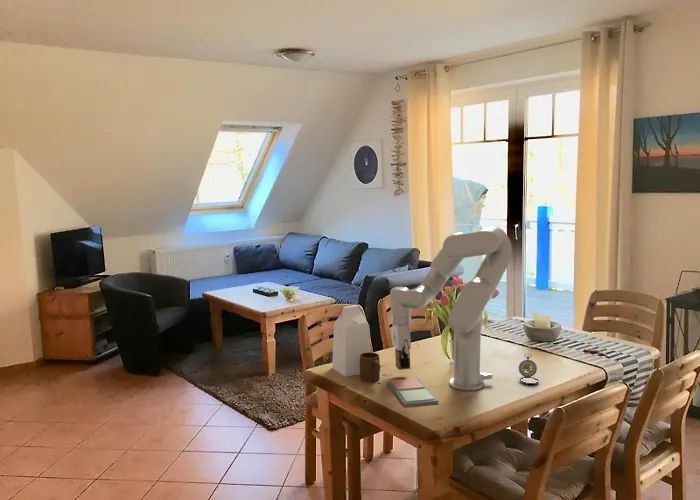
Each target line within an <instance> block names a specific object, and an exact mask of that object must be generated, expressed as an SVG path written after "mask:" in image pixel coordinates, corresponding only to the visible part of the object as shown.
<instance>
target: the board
mask: <svg viewBox="0 0 700 500" xmlns="http://www.w3.org/2000/svg"><path fill="white" fill-rule="evenodd" d="M387 385H388V387H390V389H391V390H392V391H393V393H394V394H395V397H396V398H398V400H399V402H401V404H402V405H403V406H404V407H414V406H424V405H425V406H427V405H435V404H439V400H438V399H437V398H436V396H435V395H434V394H433V393H432V392H431V391H430V390H429V388H428V387H426V385H425V384H424V382H422V380H421V379H420V378H419V377H417V378H405V379H403V378H402V379H393V380H387Z"/></svg>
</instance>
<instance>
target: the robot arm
mask: <svg viewBox="0 0 700 500" xmlns="http://www.w3.org/2000/svg"><path fill="white" fill-rule="evenodd" d="M512 248H513V247H512V244H511V239H510V238H509V236H508V235H507V233H506V231H504V230H503V229H502V228H500V227H498V226H488V227H486V228H484V229H482V230H475V231H471V232H466V233H465V232H462V231H461V232H460V231H459V232H458V231H457V232H454V233H451V234H450V235H448V236H447V237H445V239H444V241H443V243H442V247H441V249H440V250H439V252H438V253H437V254H436V255H435V257H434V258H433V260H432V261H431V263H430V269H429V272H428V273H427V274H426V276H425V278H424V279H423V280H422V281H421V282H420V284H419V285H418V286H417V287H414V288H413V289H409V287H406V286H396V287H393V288H391V289H390V291H389V293H390V319H391V325H392V329H391V330H392V332H391V333H392V334H391V336H392V337H391V339H392V341H391V344H392V346H393V347H394V348H395V349H397V350H398V351H400V350H401V358H400V362H401V368H408V367H409V351H410V350H411V347H412V346H411V345H412V344H411V343H412V341H411V329H410V328H411V327H410V324H412V311H411V309H413V310H421V309H423V308H424V307H426V306H427V305H428V304H430V303H431V302H432V301H433V300H434V299H435V298H436V296H437V295H438V294H439V292H440V291H441V290H442V289H443V287H444V285H445V284H446V283H447V281H449V279H450V277H451V276H452V275H453V273H454V272H455V271H456V269H457V268H458V267H459V265H460V264H461V263H462V262H463V261H464V259H466V258H467V259H468V258H472V257H479V256H485V257H484V258H483V260H482V262H481V263H480V266H479V267H478V269H477V271H476V273H475V274H474V276H473V278H472V279H470V280H469V281H468V282H467V283H465V285H464V286H463V288H462V290H461V291H460V293H459V295H458V297H457V299H456V301H455V302H454V304H453V306H452V307H451V310H450V312H449V315H448V319H447V320H448V325H449V326H450V328H451V330H452V331H453V332H454V333H453V335H454V336H453V377H451V378H450V379H449V381H448V383H449V385H450V387H452V388H454V389H456V390H460V391H470V392H471V391H478V390H481V389H482V388H483V387H484V386H485V383H484V381H485V380H492V379H493V374H492V373H486V372H481V344H482V343H481V340H482V339H481V338H482V337H481V336H482V326H483V325H482V323H483V311H484V310H485V308H486V306H487V305H488V303H489V301H490V300H491V299H492V298H493V296H494V294H495V291H496V289H497V288H498V285H499V284H500V282H501V279H502V278H503V276H504V274H505V272H506V270H507V269H508V267H509V263H511V258H512V254H513V253H512V250H513V249H512ZM403 348H404V350H402V349H403ZM403 351H405V352H404V353H403Z"/></svg>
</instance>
